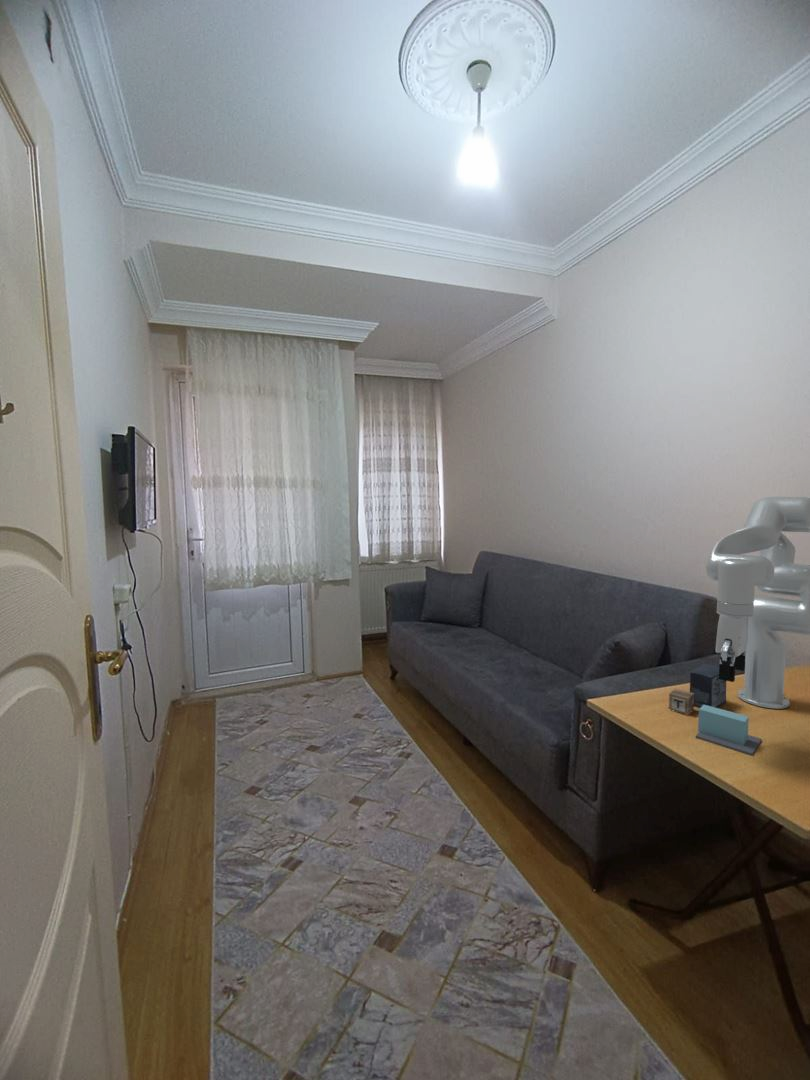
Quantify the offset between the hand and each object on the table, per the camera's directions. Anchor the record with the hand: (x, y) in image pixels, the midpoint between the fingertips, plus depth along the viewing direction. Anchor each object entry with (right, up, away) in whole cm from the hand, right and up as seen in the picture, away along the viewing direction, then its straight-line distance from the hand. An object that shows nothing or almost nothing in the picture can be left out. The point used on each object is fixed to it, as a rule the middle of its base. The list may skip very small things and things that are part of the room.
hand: (731, 674), depth 121 cm
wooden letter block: (-2, -15, +18) cm, 24 cm away
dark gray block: (0, -17, +1) cm, 17 cm away
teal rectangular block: (-1, -16, +2) cm, 16 cm away
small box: (+8, -15, +22) cm, 28 cm away
